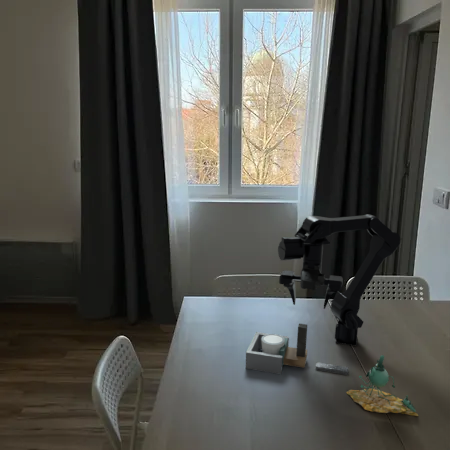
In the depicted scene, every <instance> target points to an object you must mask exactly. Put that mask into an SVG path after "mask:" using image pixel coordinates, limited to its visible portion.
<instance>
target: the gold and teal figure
mask: <svg viewBox="0 0 450 450" xmlns="http://www.w3.org/2000/svg"><path fill="white" fill-rule="evenodd" d="M384 361H385V355H383V354H382V355H380V356H379V359H377V360H376V364H375V365H374V366H371V368H370V369H369V370H368V371H367V373H366V374H365V377H366V378H368V380H369V382H366V381H365V380H364V379H363V376H362V375H359V376H358V378H359V379H361V380H362V381H363V382H364V384H365V385H368V386H364V385H363V384H362V383H361V385H360V388H361V389H360V390H359V389H357V390H356V389H349V390H348V391H346V395H348V396H350V397H351V399H352V400H353V401H352V402H354V403H357V404H359V405H360V406H361V407H362V408H363V409H364V410H366V411H368V412H369V411H370V412H372V413H373V412H376V413H380V414H381V413H383V414H387V413H395V414H398V413H400V414H402V415H404V414H405V415H407V416H412V417H419V414H418V413H416V412H417V411H416V407H415V406H414V405H413V403H412V401H411V400H410V401H409V398H408V397H409V395H408V394H407V395H405V397H404V399H402V398H400V397H397V396H396V395H395V394H391V393H389V392H385V391H382V390H381V389H380V388H384V387H385V386H386V385H387V384H388V382H389V381H390V378H392V383H393V385H391V387H392V388H396V385H395V381H394V380H395V379H394V376H390V375H389V373H388V371H387V370H386V368H385V366H384V364H383V363H384ZM370 386H371V387H370ZM375 387H376V389H375Z"/></svg>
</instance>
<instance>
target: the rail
mask: <svg viewBox="0 0 450 450" xmlns="http://www.w3.org/2000/svg"><path fill="white" fill-rule="evenodd" d="M315 370H316V371H322V372H328V373H333V374H334V373H335V374H341V375H348V376H349V367H348V366H344V365H343V366H342V365H336V364H331V363H329V364H328V363H323V362H318V361H317V362H316V363H315Z"/></svg>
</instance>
